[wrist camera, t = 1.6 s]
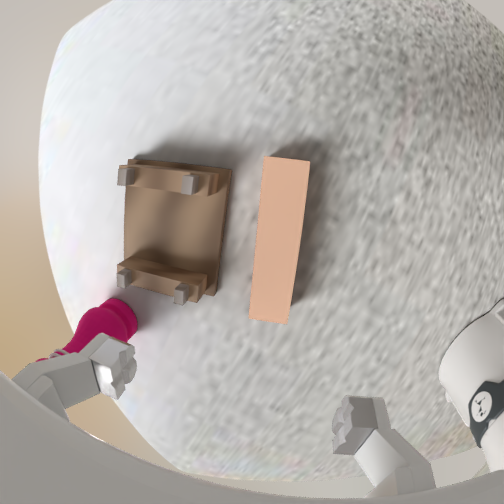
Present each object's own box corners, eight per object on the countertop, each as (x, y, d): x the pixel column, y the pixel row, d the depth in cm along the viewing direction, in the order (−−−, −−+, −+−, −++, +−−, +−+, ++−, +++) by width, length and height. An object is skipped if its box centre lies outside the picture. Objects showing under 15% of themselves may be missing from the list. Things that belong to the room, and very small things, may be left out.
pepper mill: (104, 285, 36) (2, 364, 17) (145, 311, 35) (52, 412, 17) (98, 321, 38) (14, 400, 19) (136, 346, 38) (59, 440, 19)
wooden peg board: (232, 169, 28) (216, 171, 23) (216, 292, 33) (201, 316, 27) (132, 159, 29) (103, 160, 24) (128, 270, 34) (104, 287, 29)
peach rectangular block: (308, 161, 27) (310, 161, 23) (289, 305, 32) (287, 324, 28) (269, 157, 27) (264, 156, 24) (254, 300, 32) (248, 318, 29)
